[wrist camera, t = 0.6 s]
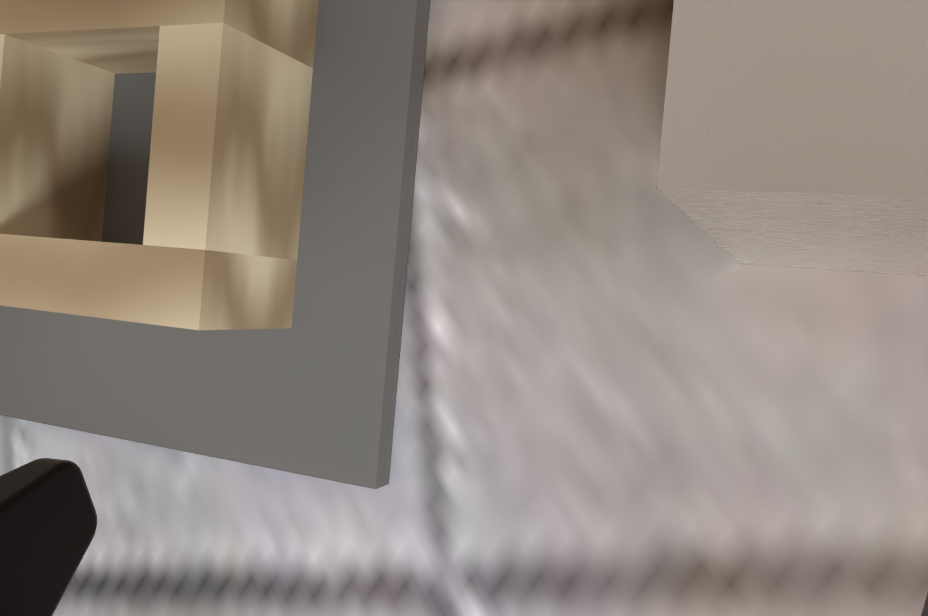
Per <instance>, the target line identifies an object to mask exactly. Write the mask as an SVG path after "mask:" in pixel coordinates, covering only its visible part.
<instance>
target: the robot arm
mask: <svg viewBox="0 0 928 616" xmlns="http://www.w3.org/2000/svg"><path fill="white" fill-rule="evenodd" d="M96 526H97V515H96V511H95V508H94V505H93V502H92V500H91V497H90V494H89V491H88V488H87V486H86V483H85V480H84V477H83V475H82V472H81V470H80V468H79V467H78V466H77V465H76V464H75V463H74V462H71V461H67V460H58V459H49V458H41V459H37V460H34V461H32V462H30V463H27V464H25V465H23V466H21V467H19V468H17V469H14V470H12V471H10V472H8V473H6V474H4V475H1V476H0V616H52V615H53V613H54V611H55V609H56V608H57V606H58V604H59V602H60V600H61V598H62V596H63V594H64V592H65V590H66V588H67V587H68V585H69V583H70V581H71V579H72V577H73V575H74V573H75V571H76V569H77V567H78V566H79V564H80V562H81V560H82V558H83V556H84V554H85V552H86V550H87V548H88V547H89V545H90V543H91V541H92V539H93V537H94V534H95V531H96ZM921 616H928V593H927V597H926V600H925V604H924V607H923V611H922V614H921Z"/></svg>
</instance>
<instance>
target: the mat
mask: <svg viewBox="0 0 928 616" xmlns="http://www.w3.org/2000/svg"><path fill="white" fill-rule="evenodd" d="M429 8H430V0H319V2H318V14H317V26H316V38H315V50H314V62H313V74H312V86H311V99H310V111H309V123H308V135H307V147H306V159H305V171H304V183H303V196H302V208H301V220H300V232H299V244H298V256H297V268H296V280H295V293H294V305H293V317H292V328H283V329H236V330H192V329H184V328H177V327H169V326H161V325H153V324H145V323H137V322H129V321H121V320H113V319H105V318H97V317H89V316H81V315H73V314H65V313H57V312H49V311H41V310H33V309H25V308H17V307H9V306H1V305H0V415H3V416H8V417H13V418H18V419H23V420H28V421H34V422H39V423H44V424H49V425H54V426H59V427H64V428H69V429H74V430H79V431H84V432H89V433H94V434H99V435H104V436H109V437H114V438H120V439H125V440H130V441H135V442H140V443H145V444H150V445H155V446H160V447H165V448H170V449H175V450H180V451H185V452H190V453H195V454H200V455H206V456H211V457H216V458H221V459H226V460H231V461H236V462H241V463H246V464H251V465H256V466H261V467H266V468H271V469H276V470H281V471H286V472H292V473H297V474H302V475H307V476H312V477H317V478H322V479H327V480H332V481H337V482H342V483H347V484H352V485H357V486H362V487H367V488H372V489H377V488H379V487H382V486H384V485H387V484H389V474H390V463H391V451H392V439H393V428H394V416H395V404H396V393H397V381H398V370H399V358H400V346H401V335H402V323H403V311H404V300H405V288H406V276H407V265H408V253H409V241H410V230H411V218H412V206H413V195H414V183H415V171H416V160H417V148H418V136H419V125H420V113H421V101H422V90H423V78H424V66H425V55H426V43H427V31H428V20H429ZM155 82H156V73H116V74H115V79H114V92H113V105H112V118H111V131H110V144H109V157H108V170H107V183H106V196H105V209H104V222H103V235H102V242H111V243H124V244H137V245H143V236H144V223H145V211H146V198H147V185H148V172H149V159H150V146H151V134H152V121H153V108H154V95H155Z"/></svg>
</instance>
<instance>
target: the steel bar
mask: <svg viewBox="0 0 928 616" xmlns="http://www.w3.org/2000/svg"><path fill="white" fill-rule="evenodd" d="M656 188H657V189H658V190H659V191H660V192H661V193H662V194H663V195H665V196H666V197H667V198H668V199H669V200H670V201H671V202H672V203H673V204H674V205H675V206H676V207H678V208H679V209H680V210H681V211H682V212H683V213H684V214H685V215H686V216H687V217H688V218H690V219H691V220H692V221H693V222H694V223H695V224H696V225H697V226H698V227H699V228H700V229H701V230H703V231H704V232H705V233H706V234H707V235H708V236H709V237H710V238H711V239H712V240H713V241H715V242H716V243H717V244H718V245H719V246H720V247H721V248H722V249H723V250H724V251H725V252H726V253H728V254H729V255H730V256H731V257H732V258H733V259H734V260H735V261H736V262H737V263H738V264H751V265H767V266H782V267H797V268H812V269H827V270H842V271H858V272H873V273H888V274H903V275H918V276H925V275H928V0H674V5H673V15H672V26H671V37H670V48H669V58H668V69H667V80H666V91H665V101H664V112H663V123H662V133H661V144H660V155H659V166H658V176H657V187H656Z"/></svg>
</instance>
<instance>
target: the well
mask: <svg viewBox="0 0 928 616" xmlns="http://www.w3.org/2000/svg"><path fill="white" fill-rule="evenodd" d="M318 2H319V0H0V305H1V306H9V307H17V308H25V309H33V310H41V311H49V312H57V313H65V314H73V315H81V316H89V317H97V318H105V319H113V320H121V321H129V322H137V323H145V324H153V325H161V326H169V327H177V328H184V329H192V330H236V329H283V328H292V317H293V305H294V293H295V280H296V268H297V256H298V244H299V232H300V220H301V208H302V196H303V183H304V171H305V159H306V147H307V135H308V123H309V111H310V99H311V86H312V74H313V62H314V50H315V38H316V26H317V14H318ZM116 73H156V82H155V95H154V108H153V121H152V134H151V146H150V159H149V172H148V185H147V198H146V211H145V223H144V236H143V245H137V244H124V243H111V242H102V235H103V222H104V209H105V196H106V183H107V170H108V157H109V144H110V131H111V118H112V105H113V92H114V79H115V74H116Z"/></svg>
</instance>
